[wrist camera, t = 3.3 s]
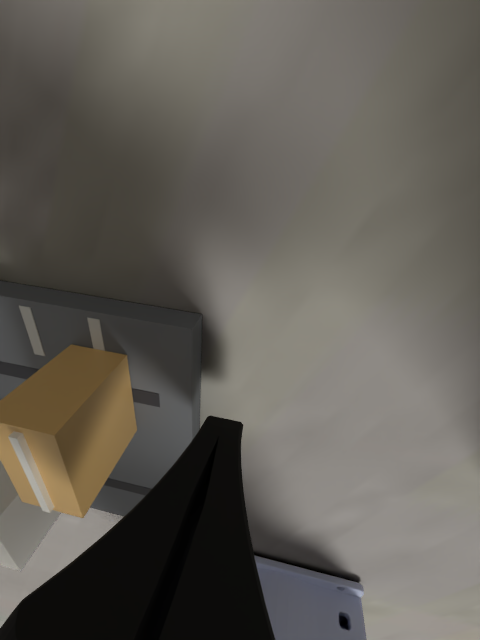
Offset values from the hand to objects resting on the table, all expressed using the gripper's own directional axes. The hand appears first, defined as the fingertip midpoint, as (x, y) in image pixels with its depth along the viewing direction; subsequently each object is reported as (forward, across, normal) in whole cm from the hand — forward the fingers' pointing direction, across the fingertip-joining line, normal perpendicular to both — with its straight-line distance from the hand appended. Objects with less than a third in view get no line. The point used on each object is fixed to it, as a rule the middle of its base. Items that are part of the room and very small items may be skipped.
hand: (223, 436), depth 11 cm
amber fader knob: (+1, +6, 0) cm, 6 cm away
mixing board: (+2, +10, +4) cm, 11 cm away
